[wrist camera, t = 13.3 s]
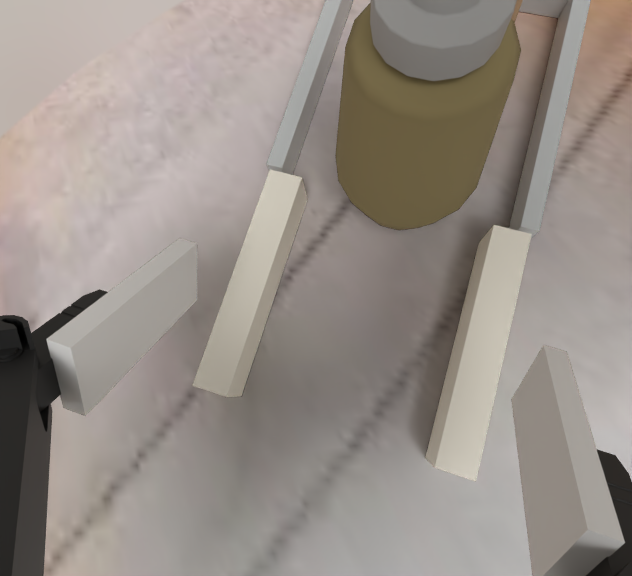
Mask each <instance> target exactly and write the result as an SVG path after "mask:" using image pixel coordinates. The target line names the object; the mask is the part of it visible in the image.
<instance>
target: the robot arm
mask: <svg viewBox="0 0 632 576" xmlns="http://www.w3.org/2000/svg"><path fill="white" fill-rule="evenodd" d="M196 301H197V243H195V242H191V241H188V240H185V239H181V238H179V239H178V240H177V241H175V242H174V243H173V244H171V245H170V246H169V247H167V248H166V249H165V250H163V251H162V252H161V253H159V254H158V255H157V256H155V257H154V258H153V259H151V260H150V261H149V262H147V263H146V264H145V265H143V266H142V267H141V268H140V269H138V270H137V271H136V272H134V273H133V274H132V275H130V276H129V277H128V278H126V279H125V280H124V281H122V282H121V283H120V284H118V285H117V286H116V287H114V288H113V289H112V290H110V291H109V292H106V291H102V290H97V291H95V292H92V293H89V294H87V295H84V296H82V297H81V298H80V299H78V300H77V301H76V302H74V303H73V304H71V307H70V306H69V307H67V308H66V309H64V310H63V311H62V313H61V314H60V313H59V314H57V315H56V316H55V317H53V318H52V319H50V320H49V321H48V322H46V323H45V324H43V325H42V326H41V327H39V328H38V329H36V330H35V331H34V332H32V333H31V331H30V328H29V324H28V321H27V320H25V319H24V318H23V317H19V316H15V315H3V316H0V576H43V574H44V556H45V537H46V518H47V500H48V481H49V463H50V444H51V425H52V407H51V403H52V402H53V401H54V400H55V399H56V398H57V397H58V396H59V395H60V396H61V400H62V404H63V408H65V409H68V410H71V411H73V412H76V413H79V414H81V415H84V416H86V415H87V414H88V413H89V412H90V411H91V410H92V409H93V408H94V407H95V406H96V405H97V404H98V403H99V402H100V400H101V399H102V398H103V397H104V396H105V395H106V394H107V393H108V392H109V391H110V390H111V389H112V388H113V387H114V386H115V385H116V384H117V383H118V382H119V381H120V380H121V379H122V378H123V377H124V376H125V375H126V373H127V372H128V371H129V370H130V369H131V368H132V367H133V366H134V365H135V364H136V363H137V362H138V361H139V360H140V359H141V358H142V357H143V356H144V355H145V354H146V353H147V352H148V351H149V350H150V349H151V348H152V347H153V345H154V344H155V343H156V342H157V341H158V340H159V339H160V338H161V337H162V336H163V335H164V334H165V333H166V332H167V331H168V330H169V329H170V328H171V327H172V326H173V325H174V324H175V323H176V322H177V321H178V320H179V319H180V317H181V316H182V315H183V314H184V313H185V312H186V311H187V310H188V309H189V308H190V307H191V306H192V305H193V304H194V303H195V302H196ZM511 400H512V408H513V417H514V425H515V433H516V442H517V450H518V459H519V467H520V475H521V484H522V492H523V500H524V509H525V517H526V525H527V534H528V542H529V550H530V559H531V567H532V575H533V576H632V482H631V479H630V476H629V473H628V472H627V471H626V469H625V468H624V467H623V465H622V464H621V462H620V461H619V460H618V458H617V457H616V456H615V455H612V454H609V453H606V452H603V451H600V450H597V449H596V446H595V443H594V439H593V436H592V433H591V429H590V426H589V423H588V420H587V416H586V413H585V410H584V406H583V403H582V400H581V397H580V393H579V390H578V387H577V383H576V380H575V377H574V374H573V370H572V367H571V364H570V361H569V357H568V354H567V352H566V351H563V350H560V349H556V348H553V347H549V346H546V345H543V347H542V348H541V350H540V352H539V354H538V355H537V357H536V359H535V360H534V362H533V364H532V365H531V367H530V369H529V370H528V372H527V374H526V375H525V377H524V379H523V381H522V382H521V384H520V386H519V387H518V389H517V391H516V392H515V394H514V396H513V397H512V399H511Z"/></svg>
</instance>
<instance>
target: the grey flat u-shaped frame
mask: <svg viewBox="0 0 632 576" xmlns="http://www.w3.org/2000/svg"><path fill="white" fill-rule="evenodd" d="M590 1H591V0H523V1H522V4H521V6H520V9H519V11H520V12H525V13H531V14H537V15H543V16H549V17H555V18H558V23H557V27H556V31H555V35H554V39H553V44H552V48H551V52H550V56H549V61H548V65H547V69H546V73H545V77H544V82H543V86H542V90H541V94H540V99H539V103H538V107H537V111H536V116H535V120H534V124H533V128H532V132H531V137H530V141H529V145H528V149H527V154H526V158H525V162H524V166H523V170H522V175H521V179H520V183H519V187H518V192H517V196H516V200H515V204H514V209H513V213H512V217H511V221H510V225H509V229H513V230H517V231H521V232H526V233H530V234H532V235H531V238H532V237H533V236H534V235H536V234H537V233H538V232H539V231H540V226H541V222H542V217H543V213H544V208H545V204H546V199H547V195H548V190H549V186H550V181H551V177H552V172H553V168H554V163H555V159H556V154H557V150H558V145H559V141H560V136H561V132H562V127H563V123H564V118H565V114H566V109H567V105H568V100H569V96H570V91H571V87H572V82H573V78H574V73H575V69H576V64H577V60H578V55H579V51H580V46H581V41H582V37H583V32H584V28H585V23H586V19H587V14H588V10H589V5H590ZM352 2H353V0H326V1H325V4H324V7H323V9H322V12H321V15H320V18H319V20H318V23H317V26H316V29H315V31H314V34H313V37H312V40H311V42H310V45H309V48H308V51H307V53H306V56H305V59H304V62H303V65H302V67H301V70H300V73H299V76H298V78H297V81H296V84H295V87H294V89H293V92H292V95H291V98H290V100H289V103H288V106H287V109H286V111H285V114H284V117H283V120H282V122H281V125H280V128H279V131H278V134H277V136H276V139H275V142H274V145H273V147H272V150H271V153H270V156H269V158H268V161H267V167H268V169H269V170H274V171H278V172H282V173H287V174H291V175H293V172H294V169H295V166H296V163H297V160H298V158H299V155H300V152H301V149H302V146H303V143H304V140H305V137H306V135H307V132H308V129H309V126H310V123H311V120H312V117H313V114H314V112H315V109H316V106H317V103H318V100H319V97H320V94H321V91H322V89H323V86H324V83H325V80H326V77H327V74H328V71H329V68H330V66H331V63H332V60H333V57H334V54H335V51H336V48H337V45H338V43H339V40H340V37H341V34H342V31H343V28H344V25H345V22H346V20H347V17H348V14H349V11H350V8H351V5H352Z"/></svg>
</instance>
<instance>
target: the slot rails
mask: <svg viewBox="0 0 632 576" xmlns="http://www.w3.org/2000/svg"><path fill="white" fill-rule="evenodd" d="M307 200H308V198H307V194H306V191H305V187H304V183H303V179H302V177H299V176H295V175H291V174H287V173H282V172H278V171H274V170H269V173H268V176H267V179H266V182H265V184H264V187H263V190H262V193H261V195H260V198H259V201H258V204H257V207H256V209H255V212H254V215H253V218H252V220H251V223H250V226H249V229H248V232H247V234H246V237H245V240H244V243H243V245H242V248H241V251H240V254H239V257H238V259H237V262H236V265H235V268H234V271H233V273H232V276H231V279H230V282H229V284H228V287H227V290H226V293H225V296H224V298H223V301H222V304H221V307H220V309H219V312H218V315H217V318H216V321H215V323H214V326H213V329H212V332H211V334H210V337H209V340H208V343H207V346H206V348H205V351H204V354H203V357H202V359H201V362H200V365H199V368H198V371H197V373H196V376H195V379H194V382H193V384H192V386H194V387H197V388H200V389H203V390H206V391H209V392H212V393H215V394H218V395H221V396H224V397H240V396H242V393H243V390H244V387H245V384H246V381H247V378H248V375H249V372H250V369H251V366H252V363H253V360H254V357H255V354H256V351H257V349H258V346H259V343H260V340H261V337H262V334H263V331H264V328H265V325H266V322H267V319H268V316H269V313H270V310H271V307H272V304H273V301H274V298H275V295H276V292H277V289H278V286H279V283H280V280H281V277H282V274H283V271H284V268H285V265H286V262H287V259H288V256H289V253H290V250H291V247H292V244H293V242H294V239H295V236H296V233H297V230H298V227H299V224H300V221H301V218H302V215H303V212H304V209H305V206H306V203H307ZM531 235H532V234H530V233H526V232H521V231H517V230H513V229H509V228H505V227H501V226H497V225H493V226H492V228H491V229H490V230H489V231H488V232H487V234H486V235H485V236H484V237H483V238H482V240H481V241H480V242H479V244H478V248H477V252H476V256H475V260H474V264H473V268H472V272H471V276H470V280H469V284H468V288H467V292H466V296H465V300H464V304H463V308H462V312H461V316H460V321H459V325H458V329H457V333H456V337H455V341H454V345H453V349H452V353H451V357H450V361H449V365H448V369H447V373H446V377H445V381H444V385H443V389H442V393H441V397H440V401H439V405H438V409H437V413H436V417H435V421H434V425H433V429H432V433H431V437H430V441H429V445H428V449H427V453H426V457H425V458H426V459H427V461H428V462H429V463H430V464H431V465H432V466H433V467H434V468H437V469H440V470H443V471H446V472H449V473H452V474H454V475H457V476H460V477H463V478H466V479H469V480H472V481H475V482H476V479H477V475H478V471H479V466H480V462H481V457H482V453H483V448H484V444H485V439H486V435H487V431H488V426H489V422H490V417H491V413H492V408H493V404H494V399H495V395H496V391H497V386H498V382H499V377H500V373H501V368H502V364H503V359H504V355H505V351H506V346H507V342H508V337H509V333H510V328H511V324H512V319H513V315H514V311H515V306H516V302H517V297H518V293H519V288H520V284H521V279H522V275H523V271H524V266H525V262H526V257H527V253H528V248H529V244H530V240H531Z"/></svg>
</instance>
